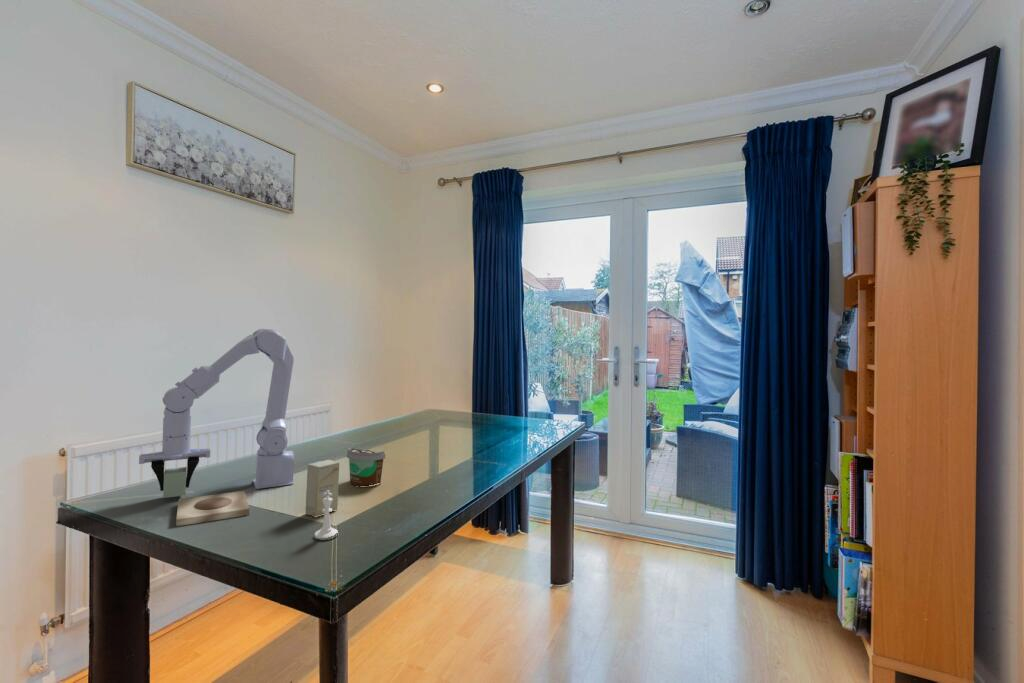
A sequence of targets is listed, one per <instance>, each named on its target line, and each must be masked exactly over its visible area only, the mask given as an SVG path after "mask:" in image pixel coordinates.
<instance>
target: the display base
mask: <svg viewBox="0 0 1024 683" xmlns="http://www.w3.org/2000/svg"><path fill="white" fill-rule="evenodd" d="M244 515H245V516H249V515H250V506H249V502H248V498H247V494H246V492H245V490H237V491H231V492H224V493H223V492H222V493H216V494H209V495H202V496H201V495H200V496H194V497H192V496H191V497H186V498H178V501H177V512H176V522H175V524H176V526H175V527H181V526H186V525H193V524H200V523H206V522H207V523H208V522H213V521H218V520H220V521H221V520H224V519H232V518H237V517H244Z"/></svg>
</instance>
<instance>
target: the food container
mask: <svg viewBox="0 0 1024 683" xmlns="http://www.w3.org/2000/svg"><path fill="white" fill-rule="evenodd" d="M346 458H347V459H348V464H349V466H348V468H349V483H350V485H351V486H352V485H353V487H355V486H358V487H357V488H361V487H360V486H369V485H374V484H377V483H380V484H381V482H382V474H383V467H384V466H383V465H384V460H385V459H386V453H385V450H383V451H379V452H378V451H377V452H374V451H372V450H369V449H364V450H363V449H362V450H361V449H355V446H354V445H353V446H350V447H348V450H347V454H346Z"/></svg>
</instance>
